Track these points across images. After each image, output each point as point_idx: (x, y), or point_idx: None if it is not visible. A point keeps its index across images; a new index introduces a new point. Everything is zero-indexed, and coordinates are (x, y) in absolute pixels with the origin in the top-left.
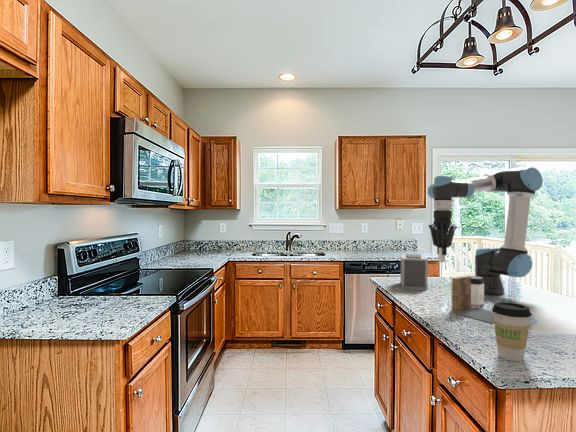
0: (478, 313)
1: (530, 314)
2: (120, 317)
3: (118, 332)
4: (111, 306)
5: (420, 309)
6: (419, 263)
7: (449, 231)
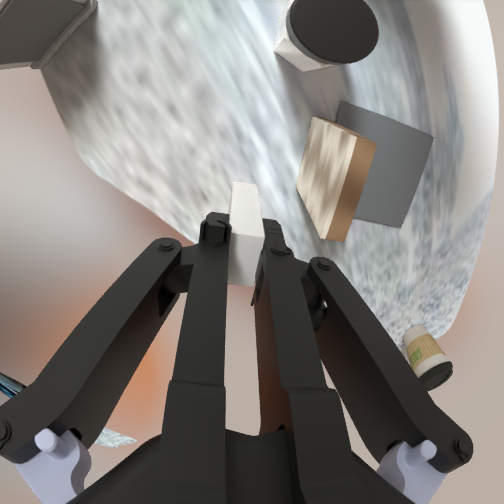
0: None
1: (449, 372)
2: None
3: (132, 439)
4: None
5: None
6: (11, 13)
7: (373, 435)
